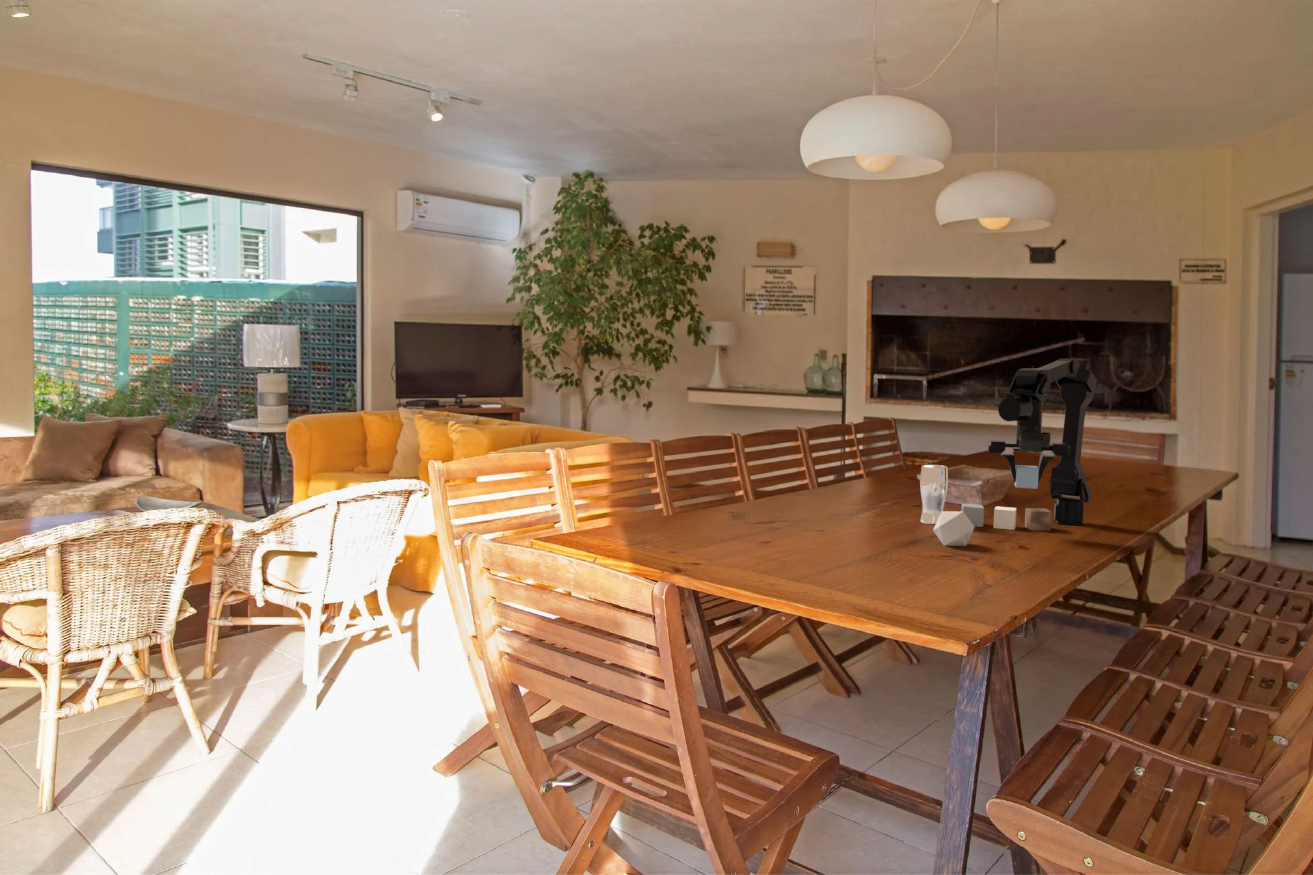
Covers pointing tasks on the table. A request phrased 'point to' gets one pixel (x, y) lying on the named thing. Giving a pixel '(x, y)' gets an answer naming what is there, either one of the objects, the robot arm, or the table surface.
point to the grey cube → (974, 513)
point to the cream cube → (1004, 518)
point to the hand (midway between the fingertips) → (1026, 482)
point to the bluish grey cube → (1026, 476)
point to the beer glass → (933, 492)
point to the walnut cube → (1037, 519)
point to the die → (953, 528)
